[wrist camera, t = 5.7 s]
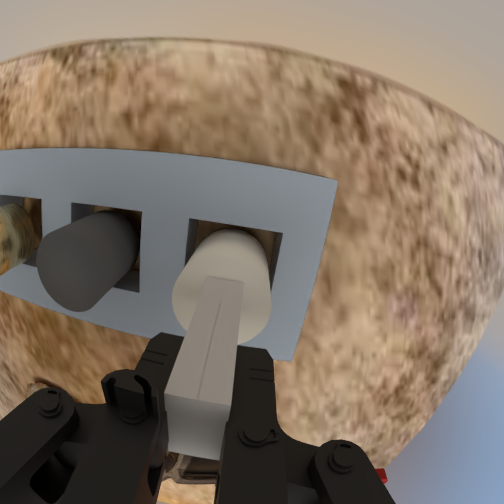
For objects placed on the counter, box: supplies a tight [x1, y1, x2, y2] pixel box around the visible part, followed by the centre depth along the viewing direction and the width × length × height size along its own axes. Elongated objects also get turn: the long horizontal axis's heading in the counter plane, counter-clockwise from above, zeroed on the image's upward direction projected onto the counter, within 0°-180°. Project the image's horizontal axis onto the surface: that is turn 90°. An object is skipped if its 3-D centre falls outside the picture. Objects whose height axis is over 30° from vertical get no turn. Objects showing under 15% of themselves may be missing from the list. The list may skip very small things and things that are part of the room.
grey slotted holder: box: [0, 148, 338, 361], centre depth 17 cm, size 26×12×3 cm, turn 81°
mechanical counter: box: [161, 446, 219, 484], centre depth 19 cm, size 7×13×10 cm, turn 68°
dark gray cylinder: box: [36, 210, 139, 312], centre depth 14 cm, size 4×4×5 cm
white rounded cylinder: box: [172, 229, 272, 345], centre depth 15 cm, size 4×4×5 cm
